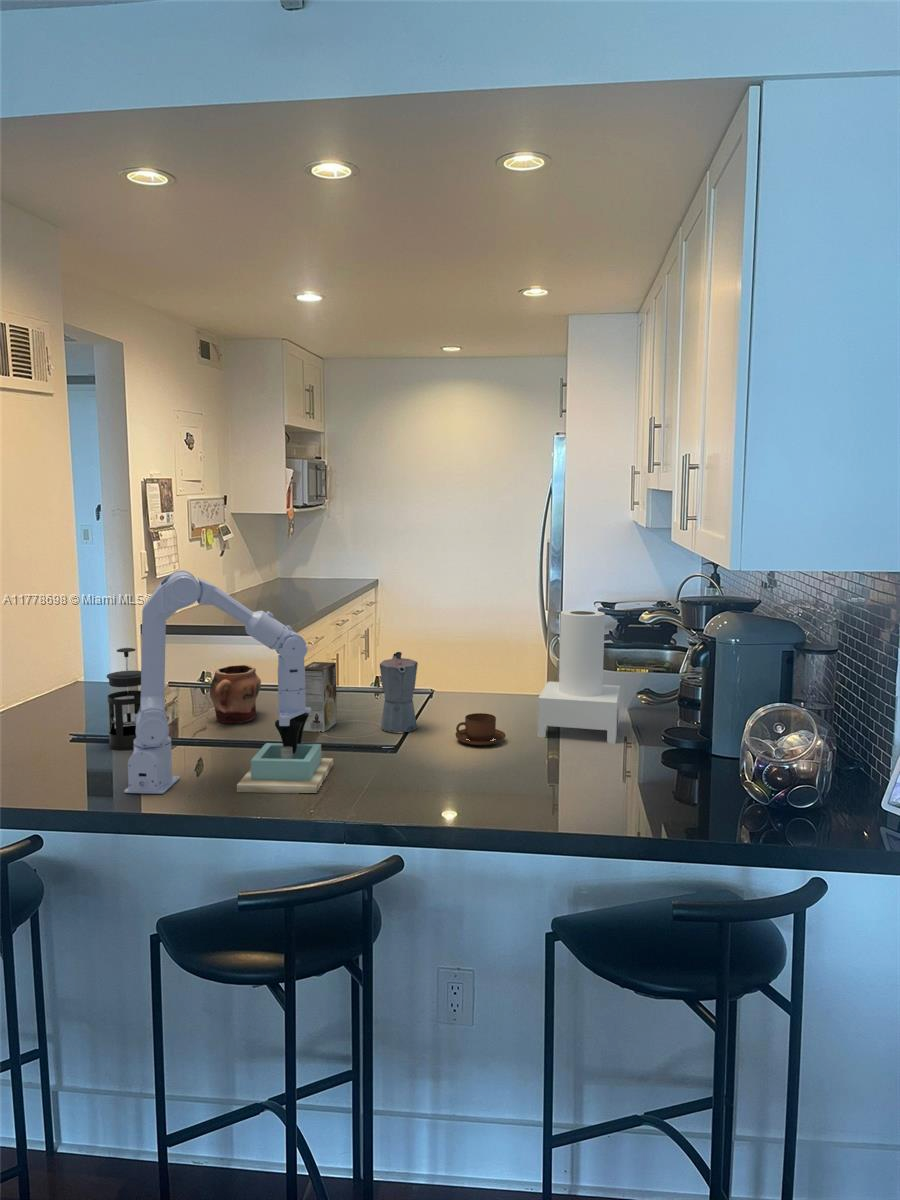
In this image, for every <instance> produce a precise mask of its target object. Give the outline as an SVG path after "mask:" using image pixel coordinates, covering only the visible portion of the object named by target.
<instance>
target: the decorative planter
mask: <svg viewBox="0 0 900 1200" xmlns="http://www.w3.org/2000/svg"><path fill="white" fill-rule="evenodd" d="M256 670H257V669H256V667H252V666H251V665H248V664H240V665H228V666H226V667H221V668H218V669H216V670H215V672H214V676H213V677H212V680H211V682H210V687H209V696H210V699H211V701H212V704H213V706H214V712H215V716H216V719H217V721H218V722H219V723H223V724H241V723H245V722H249V721H252V720H254V718H256V716H257V707H256V703H257V701H256V700H257V697H258V696H259V692H260V691H261V688H262V687H261V684H262V680H261V678H260V677H259V676H258V675H257V673H256V672H257V671H256Z"/></svg>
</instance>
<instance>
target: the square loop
mask: <svg viewBox="0 0 900 1200" xmlns="http://www.w3.org/2000/svg"><path fill="white" fill-rule="evenodd" d="M281 747H283V742H282V743H281V742H279V743H278V742H277V743H275V742H274V743H273V742H272V743H271V742H266V743H265V744H264V745H262V747H261V748H260V749H259V751H258V752H256V753H255V755H254V756H253V757H252V758H251V760H250V769H251V780H294V781H310V780H311V778H312V776H313V775H314V773H315V772H316V770H317V768H318V767H319V765H320V764H321V758H322V744H321V743H301V744H297V749H296V752H295V753H294V754H293V759H281Z"/></svg>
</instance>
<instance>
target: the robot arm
mask: <svg viewBox="0 0 900 1200" xmlns="http://www.w3.org/2000/svg"><path fill="white" fill-rule="evenodd" d="M196 578H197V579H196ZM196 602H197V603H198V605H201V606H214V607H215V608H217V609H218V610H220V611H222V612H223V613H226V614H227V615H229V616H230V617H232V618H233V619H235V620H237V621H238V622H240V623H241V624H243V625H244V629H245V633H246V634H247V635H248V636H250V637H251V638H253V639H255V640H256V641H258V642H259V643H261V644H262V645H263V646H266V648H268V649H269V650H275V652H276V653H277V654H278V657H277V659H278V661H277V662H278V666H277V697H278V698H277V702H278V704H277V706H278V707H277V714H278V719H277V720H275V721H274V725H275V728H276V730H277V731H278V733H279V736H280V739H281V742H282V743H283V747H284V746H291V747H293V754H294V753H295V752H296V749H297V744H302V739H303V733H304V731H303V729H304V726H305V723H306V720H307V718H308V716H309V714H308V713H309V712H310V711H311V708H310V707H306V706H305V666H306V665H305V656H306V655H307V654H308V651H309V650H308V646H307V643H306V640H305V639H304V638H303V637H302V636H301V635H300V634H298V633H297V632H296V630H294V629H293V628H292V626H290V625H288V624H287V625H285V624H283V623H282V622H280V621H279V620H277V619H276V618H274V615H275V614H273V613H272V612H271V611H269V610H268V611H266V612H265V611H264V610H257V611H252V610H251V609H250V608H248V607H246V605H244V604H242V603H240V602H239V601H238V600H237V599H235V598H233V597H232V596H230V595H229V594H228V593H227V592H225V591H224V590H222V589H221V588H219V587H218V586H216V585H215V584H213V583H211V582H209V581H206V580H205V579H202V578H200V577H198V576H197V577H196V576H195V575H193V573H191V572H189V571H187V570H176V571H174V572H172V573H170V574H168V576H166V577H164V578H163V579H161V581H159V584H158V585H157V587H156V588H155V590H154V591H153V593H152V594H151V595H150V597H149V598H148V599H147V601H146V602H145V603H144V605H142V606H143V607H142V611H141V618H142V620H141V660H140V661H141V662H140V663H141V666H140V667H141V668H140V669H141V670H140V671H141V685H140V691H141V700H140V709H139V711H138V713H137V715H136V717H135V724H136V739H134V750H133V752H132V754H131V755H130V757H129V758H128V761H127V780H128V781H127V782H128V787H126V788H125V789H124V790H123V792H124V793H125V794H150V795H151V794H160V795H161V794H165V793H166V792H167V791H168V790H169V789H170V788H171V787H172V786H173V785H174V784H175V783H177V782H178V781H179V779H181V777H180V776H179V775H173V759H172V758H173V757H172V755H173V754H172V737H171V736H169V734H170V726H169V722H168V715H167V713H166V711H165V687H166V686H165V682H166V681H165V679H166V678H165V676H166V635H167V633H166V631H167V628H166V627H167V620H168V619H170V617H171V616H173V615H175V613H177V611H179V610H181V609H184V608H186V607H189V606H191V605H193V604H194V603H196ZM135 724H134V725H135Z"/></svg>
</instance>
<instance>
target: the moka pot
mask: <svg viewBox="0 0 900 1200" xmlns="http://www.w3.org/2000/svg"><path fill="white" fill-rule="evenodd" d="M402 654H403V653H402V652H401V651H397V652H395V653H394V654H393V656H392V658H390V659H384V660H382V661H381V663H379V670H380V679H381V686H382V692H383V693H384V703H383V710H382V716H381V718H382V719H381V725H380V726H381V727H380V728H381V730H382V729H383V730H384V732H385V731H389V732H394V733H393V734H396V732H397V733H398V732H408V733H411V732H414V731H415V730H416V729H417V726H418V725H417V720H416V713H415V705H414V700H413V698H414V691H415V688H416V681H417V680H416V679H417V671H418V665H419V663H418V661H416V660H413V659H410V658H403V657H402ZM383 730H382V731H383ZM398 734H399V733H398Z"/></svg>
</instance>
